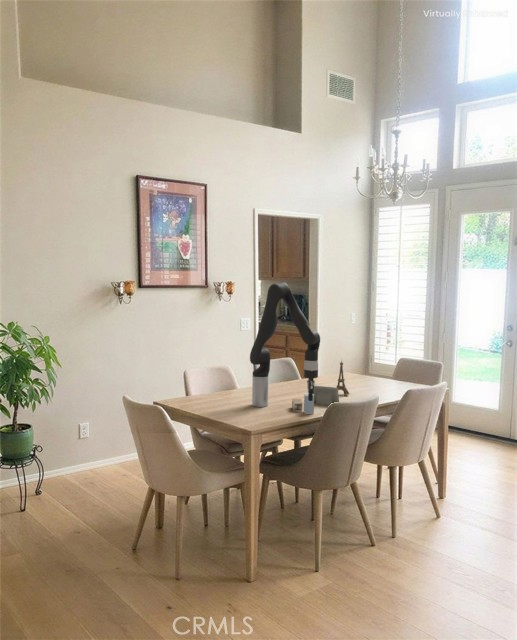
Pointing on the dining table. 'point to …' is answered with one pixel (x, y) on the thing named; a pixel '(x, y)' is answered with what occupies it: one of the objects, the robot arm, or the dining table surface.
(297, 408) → the walnut block
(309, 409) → the slate-blue block
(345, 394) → the eiffel tower
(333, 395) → the digital clock
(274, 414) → the dining table surface
